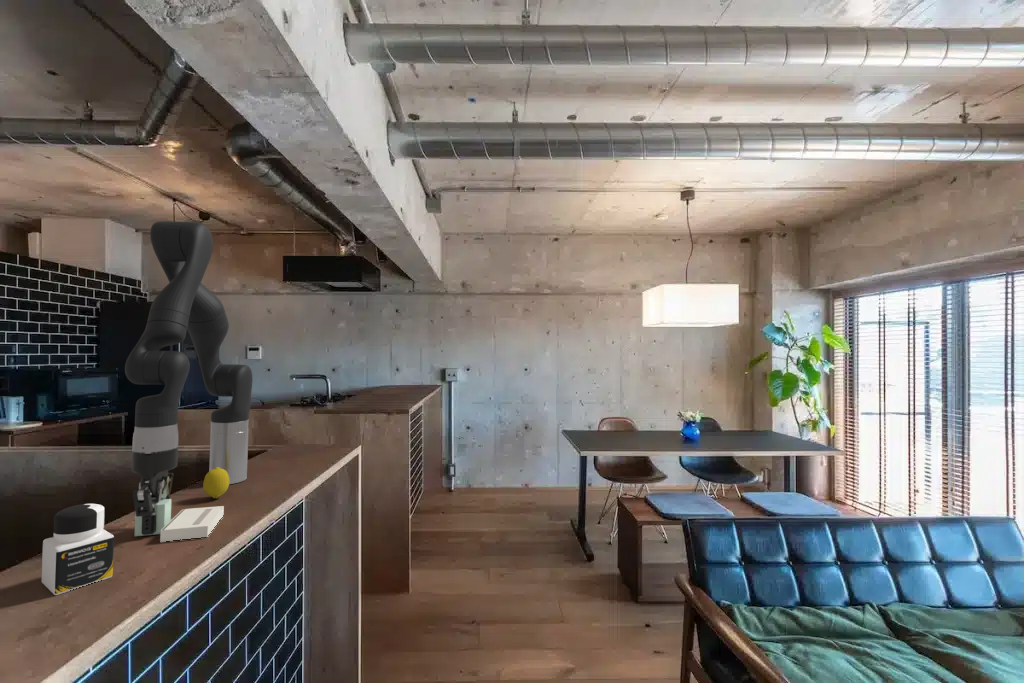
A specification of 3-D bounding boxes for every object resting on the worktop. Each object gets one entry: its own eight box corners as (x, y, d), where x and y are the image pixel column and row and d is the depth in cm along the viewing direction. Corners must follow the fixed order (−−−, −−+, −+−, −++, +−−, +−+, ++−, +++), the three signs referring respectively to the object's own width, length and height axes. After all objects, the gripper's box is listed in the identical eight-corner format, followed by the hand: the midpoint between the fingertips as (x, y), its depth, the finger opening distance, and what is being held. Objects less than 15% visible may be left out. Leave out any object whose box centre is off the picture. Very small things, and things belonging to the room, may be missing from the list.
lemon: (233, 495, 118) (234, 464, 118) (217, 502, 112) (219, 470, 112) (214, 494, 118) (215, 463, 118) (197, 501, 113) (198, 469, 113)
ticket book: (182, 520, 101) (182, 508, 101) (223, 516, 104) (223, 505, 104) (160, 542, 90) (160, 529, 90) (207, 537, 92) (207, 525, 92)
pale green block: (141, 529, 95) (142, 500, 95) (170, 527, 97) (171, 498, 97) (133, 536, 92) (135, 506, 92) (163, 533, 93) (164, 504, 93)
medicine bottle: (54, 596, 70) (57, 518, 70) (40, 583, 74) (43, 509, 74) (113, 577, 76) (115, 505, 76) (97, 565, 80) (100, 497, 80)
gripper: (148, 440, 100) (145, 519, 100) (116, 455, 87) (113, 546, 86) (188, 439, 102) (186, 515, 102) (163, 453, 89) (160, 541, 89)
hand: (152, 529), depth 94 cm, fingers closed on pale green block, 3 cm apart
